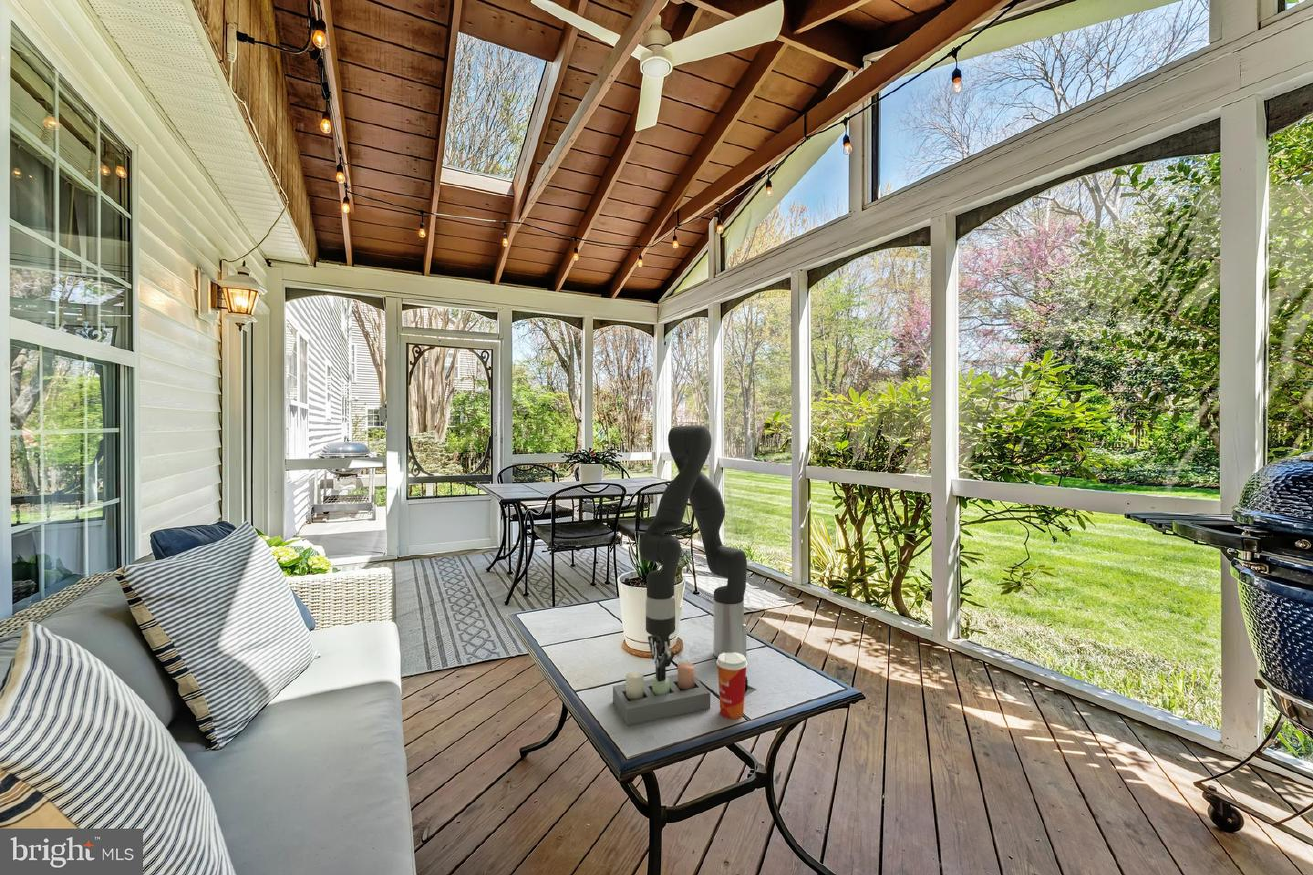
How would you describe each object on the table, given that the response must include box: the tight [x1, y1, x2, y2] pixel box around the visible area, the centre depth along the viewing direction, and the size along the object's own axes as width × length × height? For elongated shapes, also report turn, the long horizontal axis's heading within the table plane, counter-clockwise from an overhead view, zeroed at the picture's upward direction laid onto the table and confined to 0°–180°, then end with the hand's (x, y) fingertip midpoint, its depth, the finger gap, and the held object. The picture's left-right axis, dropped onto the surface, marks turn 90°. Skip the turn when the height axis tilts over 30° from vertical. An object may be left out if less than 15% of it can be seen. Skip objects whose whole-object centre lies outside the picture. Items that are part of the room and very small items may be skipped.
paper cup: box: [716, 652, 748, 720], centre depth 138 cm, size 8×8×14 cm
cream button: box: [625, 671, 644, 700], centre depth 139 cm, size 4×4×5 cm
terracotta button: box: [677, 662, 696, 690], centre depth 144 cm, size 4×4×5 cm
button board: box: [612, 673, 711, 727], centre depth 142 cm, size 22×12×4 cm, turn 111°
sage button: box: [651, 675, 670, 696], centre depth 142 cm, size 4×4×5 cm
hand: (660, 679), depth 142 cm, fingers closed
